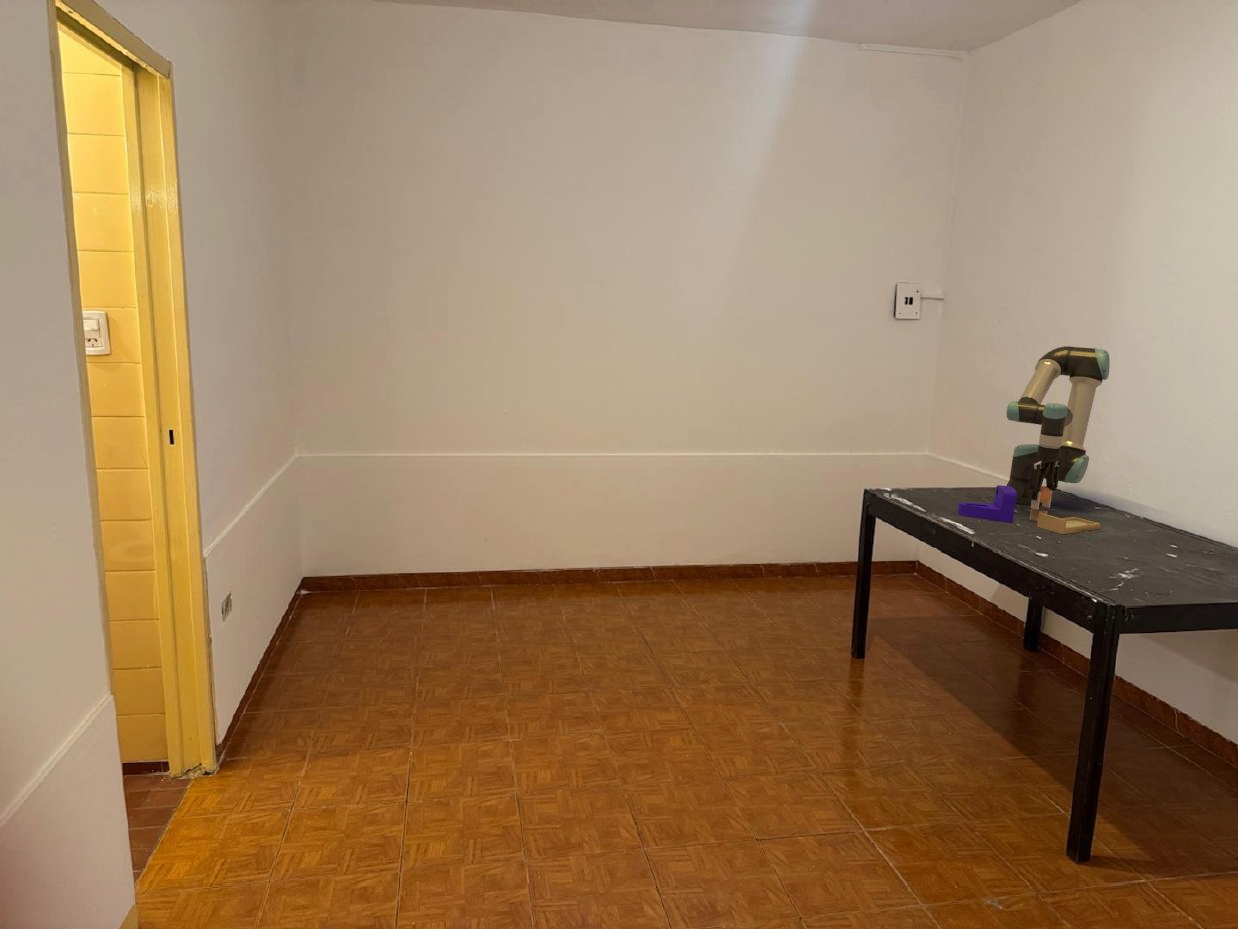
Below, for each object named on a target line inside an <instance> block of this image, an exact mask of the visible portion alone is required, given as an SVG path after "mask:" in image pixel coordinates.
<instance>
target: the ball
mask: <svg viewBox="0 0 1238 929" xmlns="http://www.w3.org/2000/svg"><path fill="white" fill-rule="evenodd" d="M1039 492H1041V496H1040V502H1047V501H1048V500H1049V499H1050V498H1051V499H1052V497H1051V491H1050V489H1049V488H1047V487H1046V486H1044V485H1042V486H1041V489H1040V491H1039Z"/></svg>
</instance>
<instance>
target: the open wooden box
mask: <svg viewBox="0 0 1238 929" xmlns="http://www.w3.org/2000/svg"><path fill="white" fill-rule="evenodd" d="M1039 513H1043V514H1047V515H1048V514H1049V513H1048V510H1045V509H1042V508H1039V509H1038V510H1037V509H1033V508H1031V509H1030V513H1029V520H1030V521H1033V522H1037V523H1038V517H1039Z"/></svg>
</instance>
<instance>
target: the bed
mask: <svg viewBox="0 0 1238 929" xmlns="http://www.w3.org/2000/svg"><path fill="white" fill-rule="evenodd" d="M1036 527H1037V528H1041V529H1044V530H1047V531H1051V532H1054V533H1056V534H1057V533H1058V534H1060V535H1064V534H1073V533H1081V532H1087V531H1094V530H1095V531H1097V530H1100V529H1101V523H1099V522H1095V521H1091V520H1087V519H1084V518H1082V517H1081V518H1080V517H1076V516H1070V517H1063V518H1061V517H1057V516H1054V515H1050V514H1048V513H1047V514H1043V513H1039V517H1038V522H1037V524H1036Z"/></svg>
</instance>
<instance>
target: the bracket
mask: <svg viewBox="0 0 1238 929" xmlns="http://www.w3.org/2000/svg"><path fill="white" fill-rule="evenodd" d="M1016 496H1017V493H1016V490H1015V489H1014V488H1012V487H1011V486H1007V485H1000V484H998V485H996V487H995V493H994V498H993V502H992V503H990V502H989V503H988V502H987V503H985V502H959V503H958V507H957V515H958V516H963V517H969V518H975V519H976V518H977V519H981V520H988V521H995V522H1001V523H1010V524H1011V523H1013V521H1014V515H1015V509H1016V504H1017V503H1016Z"/></svg>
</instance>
